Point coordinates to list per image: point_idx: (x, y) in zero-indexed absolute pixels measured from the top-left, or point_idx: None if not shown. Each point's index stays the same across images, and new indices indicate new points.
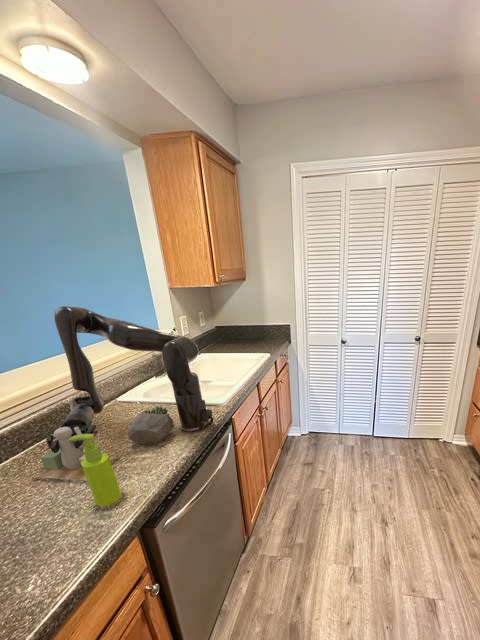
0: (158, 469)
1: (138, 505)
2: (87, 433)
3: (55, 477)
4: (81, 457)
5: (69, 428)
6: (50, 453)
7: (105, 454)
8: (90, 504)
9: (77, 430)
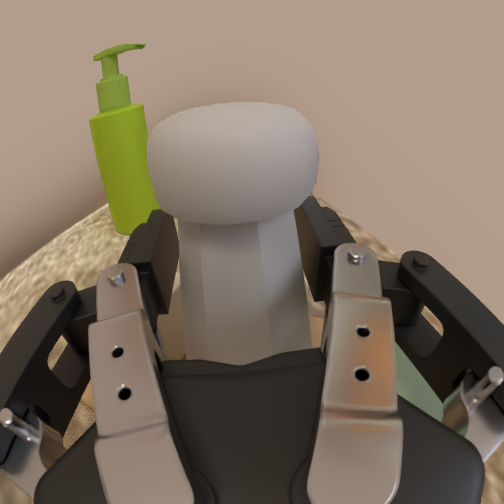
0: (25, 281)
1: (102, 210)
2: (59, 283)
3: (319, 320)
4: (176, 279)
5: (154, 129)
6: (414, 375)
7: (92, 117)
8: (176, 221)
9: (121, 359)
